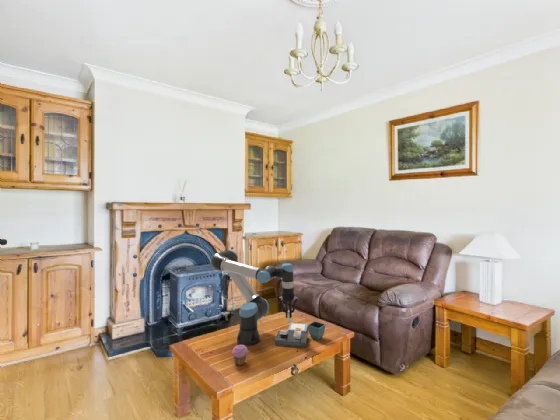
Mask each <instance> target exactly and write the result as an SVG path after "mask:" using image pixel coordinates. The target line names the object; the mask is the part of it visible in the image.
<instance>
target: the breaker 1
mask: <svg viewBox="0 0 560 420" xmlns="http://www.w3.org/2000/svg"><path fill="white" fill-rule="evenodd" d="M279 331H280V334H283V335H287V334H288V329H280V330H279Z"/></svg>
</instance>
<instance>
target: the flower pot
mask: <svg viewBox="0 0 560 420" xmlns="http://www.w3.org/2000/svg"><path fill="white" fill-rule="evenodd" d="M307 330H308V333H309V334H308V335H310V337H311V338H312V339H315V340H316V341H317V340H320V339H322V338H323V336H324V334H325V331H326V323H323V322H318V321H312V322H311V323H310V324H309V323H308V327H307Z"/></svg>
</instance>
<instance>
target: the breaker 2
mask: <svg viewBox="0 0 560 420" xmlns="http://www.w3.org/2000/svg"><path fill="white" fill-rule="evenodd" d="M301 332H302V328H295V330H294V339H300V338H301Z"/></svg>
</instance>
